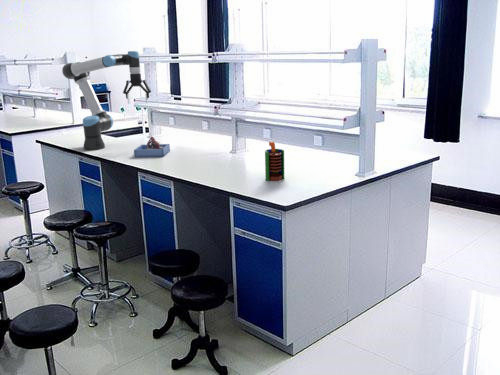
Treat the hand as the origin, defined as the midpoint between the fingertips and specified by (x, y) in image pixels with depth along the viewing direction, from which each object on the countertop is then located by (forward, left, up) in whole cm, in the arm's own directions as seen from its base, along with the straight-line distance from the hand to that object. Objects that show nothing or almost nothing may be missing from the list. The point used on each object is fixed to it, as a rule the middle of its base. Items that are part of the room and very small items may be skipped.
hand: (138, 103), depth 371 cm
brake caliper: (+17, -29, -31) cm, 46 cm away
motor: (+102, -100, -32) cm, 146 cm away
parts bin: (+16, -30, -32) cm, 46 cm away
